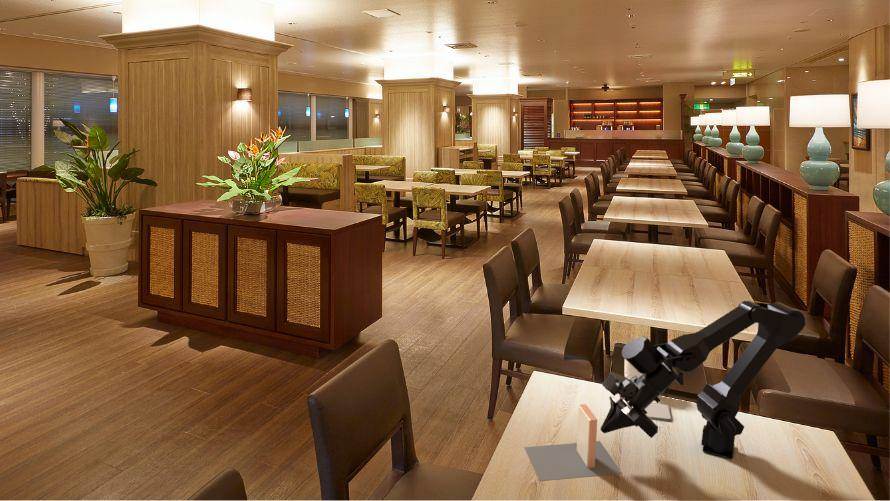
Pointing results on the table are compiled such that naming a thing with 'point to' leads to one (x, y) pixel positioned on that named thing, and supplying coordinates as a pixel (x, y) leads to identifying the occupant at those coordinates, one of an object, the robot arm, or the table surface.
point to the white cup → (630, 370)
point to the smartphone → (658, 412)
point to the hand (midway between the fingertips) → (602, 431)
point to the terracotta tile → (586, 435)
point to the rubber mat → (568, 462)
